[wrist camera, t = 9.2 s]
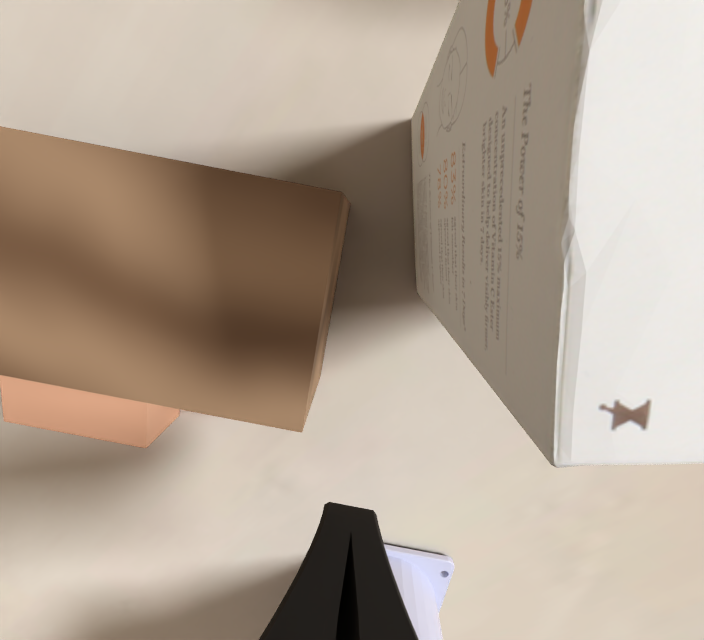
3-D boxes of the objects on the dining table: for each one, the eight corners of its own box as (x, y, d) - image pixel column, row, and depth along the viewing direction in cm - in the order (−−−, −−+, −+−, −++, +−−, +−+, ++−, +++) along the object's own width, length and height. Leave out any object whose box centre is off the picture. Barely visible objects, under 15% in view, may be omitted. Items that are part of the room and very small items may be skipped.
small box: (546, 286, 17) (1095, 469, 4) (414, 295, 17) (543, 485, 4) (559, 98, 15) (1755, -715, 2) (409, 113, 15) (620, -482, 2)
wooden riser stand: (320, 376, 18) (301, 432, 13) (-83, 299, 18) (-252, 326, 13) (350, 203, 16) (341, 191, 11) (-112, 114, 16) (-332, 62, 11)
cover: (179, 415, 19) (146, 448, 17) (58, 392, 19) (3, 421, 17) (187, 277, 17) (150, 287, 14) (51, 251, 17) (-13, 256, 14)
